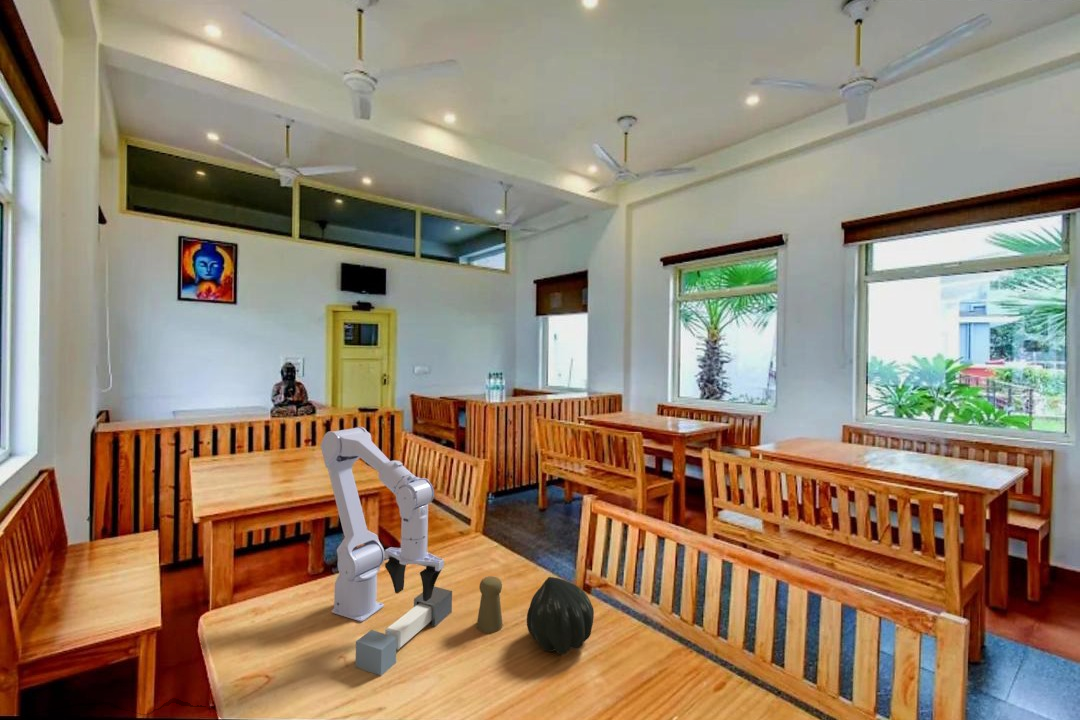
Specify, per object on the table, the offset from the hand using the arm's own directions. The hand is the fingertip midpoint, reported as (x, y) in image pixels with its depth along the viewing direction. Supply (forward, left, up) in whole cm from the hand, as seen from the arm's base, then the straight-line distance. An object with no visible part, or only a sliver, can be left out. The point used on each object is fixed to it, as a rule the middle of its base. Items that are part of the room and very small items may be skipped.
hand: (413, 595), depth 111 cm
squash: (+31, +12, -9) cm, 34 cm away
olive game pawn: (+14, +11, -9) cm, 20 cm away
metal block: (0, +8, -9) cm, 12 cm away
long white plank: (0, +3, -9) cm, 9 cm away
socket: (0, -12, -9) cm, 15 cm away
